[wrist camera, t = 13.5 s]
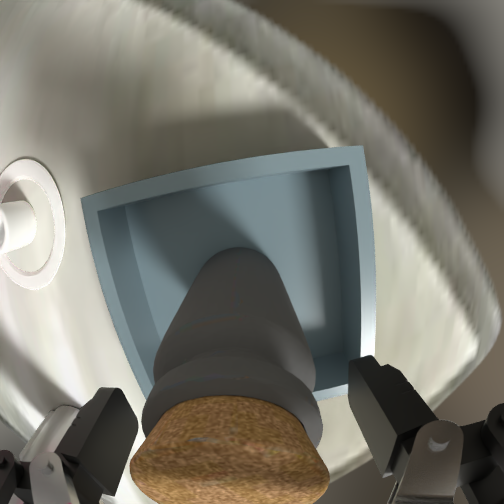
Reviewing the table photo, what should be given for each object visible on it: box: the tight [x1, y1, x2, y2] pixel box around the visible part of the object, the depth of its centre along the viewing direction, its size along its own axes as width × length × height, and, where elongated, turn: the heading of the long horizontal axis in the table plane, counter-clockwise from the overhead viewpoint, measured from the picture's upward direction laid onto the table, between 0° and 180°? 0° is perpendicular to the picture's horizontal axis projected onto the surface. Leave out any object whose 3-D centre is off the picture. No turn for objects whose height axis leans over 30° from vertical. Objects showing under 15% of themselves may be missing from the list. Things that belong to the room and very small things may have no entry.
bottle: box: [130, 247, 330, 504], centre depth 12 cm, size 6×6×15 cm
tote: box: [81, 146, 376, 401], centre depth 18 cm, size 16×16×5 cm
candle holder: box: [0, 159, 65, 290], centre depth 17 cm, size 12×12×4 cm
